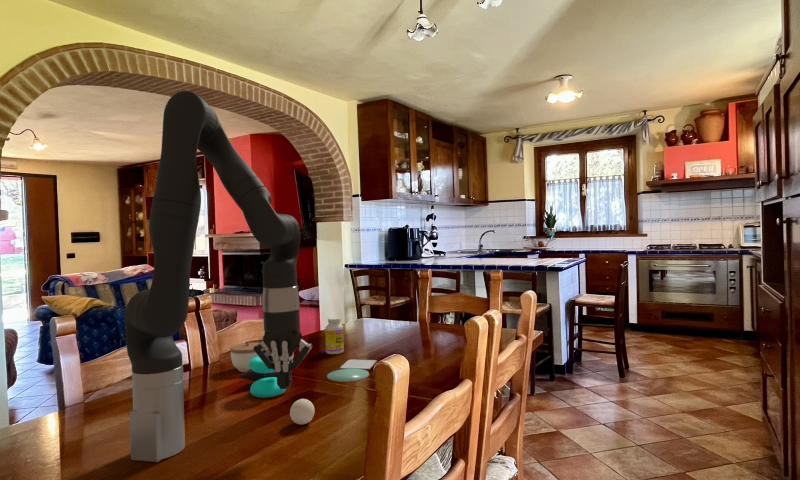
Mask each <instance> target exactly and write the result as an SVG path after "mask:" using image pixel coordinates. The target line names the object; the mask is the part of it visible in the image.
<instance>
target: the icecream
mask: <svg viewBox="0 0 800 480" xmlns="http://www.w3.org/2000/svg"><path fill="white" fill-rule="evenodd" d="M269 377H276V378H277V373H276V372H272V373H257V372H254V371H253V370H252V369H250V370H248V371H246V372H242V374H240V375H239V376H238V379H241V380H247V381H251V382H256V381H258V380H260V379H263V378H269Z"/></svg>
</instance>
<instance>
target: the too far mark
mask: <svg viewBox="0 0 800 480" xmlns="http://www.w3.org/2000/svg"><path fill="white" fill-rule="evenodd" d="M377 361H378V360H377V359H348V360H347V361H346V362H344V363H343V364H342V365H341V366H340V367H339V369H362V370H370V369H371V368H372V367H373V366H374V365H375V364H376V363H377Z"/></svg>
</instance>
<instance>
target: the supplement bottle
mask: <svg viewBox="0 0 800 480" xmlns="http://www.w3.org/2000/svg"><path fill="white" fill-rule="evenodd" d="M341 319H342V318H341V317H339V316H334V317H333V316H332V317H328V318H327V322H328V323H327V325H326V326H325V327H324V328H325V329H324V330H325V353H326V354H328V355H339V354H342V353H344V351H345V350H344V348H345V347H344V346H345V344H344V337H345V336H344V325H342V323H341Z"/></svg>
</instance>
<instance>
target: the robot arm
mask: <svg viewBox="0 0 800 480" xmlns="http://www.w3.org/2000/svg"><path fill="white" fill-rule="evenodd" d="M198 151H200V153H201V154H202V155H203V156H204V158H205V159H207V160H208V161H209V163H210V164H211V166H212V167H213V169H214V170H215V172H216V174H217V176H218V178H219V180H220V183H221V184H222V185H223V187H224V188H225V190H226V191H227V193H228V194H229V196H230V198H231V199H232V200H233V201H234V203H235V204H236V206H237V207H238V208H239V210H241V211H242V214H243V216H244V219H245V221H246V223H247V226H248V228H249V231H250V232H251V234H252V236H253V237H254V239H255V240H256V241H257V242H258V243H259V244H260V245H262V246H264V247H266V248H269V249H270V252H269V253H270V254H269V257H268V259H266V260H265V261H264V262H263V264H262V289H263V290H262V316H263V317H262V318H263V331H264V334H263V336H262V341H261V342H259V343H260V344H258V345H256V346H254V348H253V349H254V351H255V352H256V354H257V355H258V356H259V357H260V359H261V360H262V361H263V362H264V364H265V365H266V366H267V368H268V369H273V370H275V371H276V373H277V385H278V386H279V388H280V389H286V390H288V389H289V388H290V386H291V385H292V383H293V374H292V373H293V372H292V371H293V370H296V369H297V368H298V367H299V366H300V365H301V364H302V363H303V362H304V360H305V358H307V356H308V354H309V353H310V351H312V348H313V344H312V343H308V342H307V341H305V339H303V334H302V333H301V314H300V304H301V303H300V296H299V294H300V293H299V290H298V277H297V276H298V274H297V264H298V263H297V262H298V257H299V253H300V252H299V251H300V246H301V245H300V244H301V228H300V224H299V222H298V221H297V219H296V218H295V217H294V216H292V215H289V214H286V213H285V214H284V213H277V212H276V210H275V209H274V208H273V206H272V202H273V199H272V195H271V193H270V191H269V190H268V188H267V187H266V186H265V184H264V183H263V182H262V181H261V179H260V178H259V177H258V176H257V174H256V172H255V171H254V170H253V169H252V167H250V165H248V163H247V162H246V161H245V160H244V158H243V157H242V156H241V154H239V152H238V151H237V149H236V148H235V147H234V145H233V144H232V142H231V141H230V139H229V137H228V135H227V133H226V132H225V129H224V127H223V125H222V123H221V121H220V120H219V117H218V115H217V114H216V112H215V110H214V109H213V108H212V107H211V106H210V105H209V104H208V102H206V101H205V99H203V98H202V97H201V96H200V95H198V94H197V93H195V92H193V91H189V90H182V91H181V90H180V91H178V92H176V93H174V94H173V95H172V96H171V97H170V98H169V99H168V101H167V102H166V105H165V107H164V110H163V121H162V135H161V151H160V152H161V153H160V158H159V163H158V170H157V175H156V182H155V188H154V193H153V197H152V202H151V207H150V208H151V209H150V214H149V220H148V228H149V229H148V230H149V236H150V237H149V238H150V243H151V248H152V252H153V257H154V260H153V261H154V267H153V274H152V280H151V285H150V287H149V289H143V290H140V291H138V292H136V293H135V294H134V295H133V296H132V297H131V298H130V299H129V300H128V303H127V304H126V307H125V310H124V311H125V312H124V313H125V314H124V326H125V327H124V328H125V341H126V352H127V355H128V356H127V357H128V358H129V361H130V365H131V375H132V376H131V378H132V381H131V383H132V411H130V413H129V434H130V435H129V436H130V437H129V439H130V460H131V461H136V462H137V461H138V462H152V463H159V462H160V461H162V460H163V459H168V458H170V457H172V456H175V455H178V454H179V453H181V452H182V451H183V450H184V449H185V447H186V442H185V441H186V438H185V437H186V436H185V435H186V434H185V433H186V431H185V408H184V407H185V399H184V370H183V369H184V366H183V352H182V351H181V350H180V349H179V347H178V346H177V345H176V343H175V341H174V337H173V336H174V335H176V334H177V333H178V332H179V331H180V330H181V329H182V328H183V326H184V325H185V322H187V318H188V314H189V307H190V306H189V305H190V283H191V281H190V280H191V279H190V278H191V268H192V260H193V255H194V249H195V243H196V237H197V235H196V234H197V231H198V226H199V221H200V213H201V207H202V192H201V191H202V190H201V185H200V178H199V173H198V165H197V155H198ZM298 347H299V348H298ZM297 349H298V351H299V353H298V355H297V356H296V358H294V356H295V352H296V350H297ZM271 354H272V355H273V356H272V355H271Z"/></svg>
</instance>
